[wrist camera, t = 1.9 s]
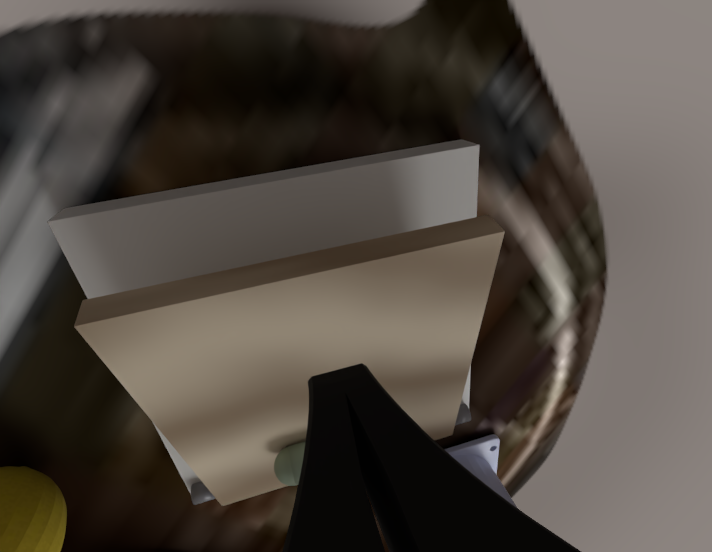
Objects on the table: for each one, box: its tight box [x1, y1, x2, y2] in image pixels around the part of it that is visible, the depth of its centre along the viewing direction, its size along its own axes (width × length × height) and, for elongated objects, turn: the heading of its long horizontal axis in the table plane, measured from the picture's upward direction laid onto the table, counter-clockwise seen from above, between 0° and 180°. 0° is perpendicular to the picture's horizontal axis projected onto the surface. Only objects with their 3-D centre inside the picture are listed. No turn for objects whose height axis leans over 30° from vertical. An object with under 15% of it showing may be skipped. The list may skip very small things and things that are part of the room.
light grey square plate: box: [47, 139, 479, 505], centre depth 19 cm, size 16×16×2 cm
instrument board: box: [74, 215, 505, 506], centre depth 16 cm, size 14×13×3 cm
